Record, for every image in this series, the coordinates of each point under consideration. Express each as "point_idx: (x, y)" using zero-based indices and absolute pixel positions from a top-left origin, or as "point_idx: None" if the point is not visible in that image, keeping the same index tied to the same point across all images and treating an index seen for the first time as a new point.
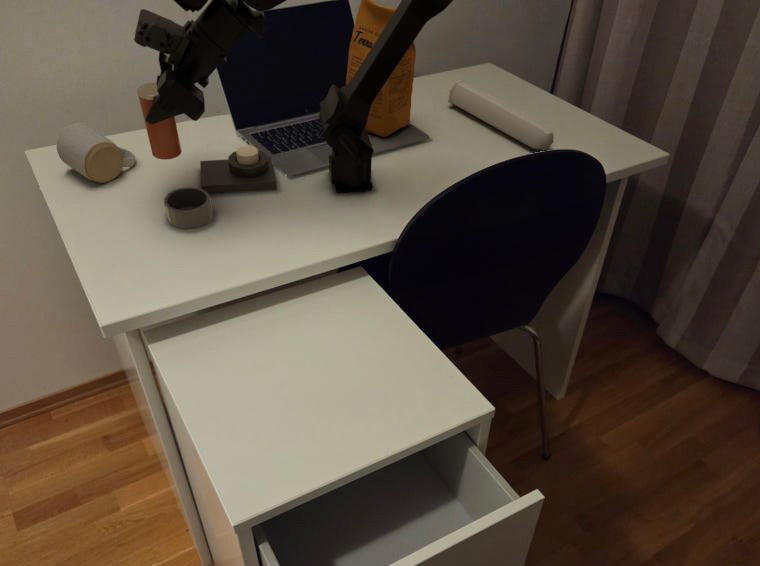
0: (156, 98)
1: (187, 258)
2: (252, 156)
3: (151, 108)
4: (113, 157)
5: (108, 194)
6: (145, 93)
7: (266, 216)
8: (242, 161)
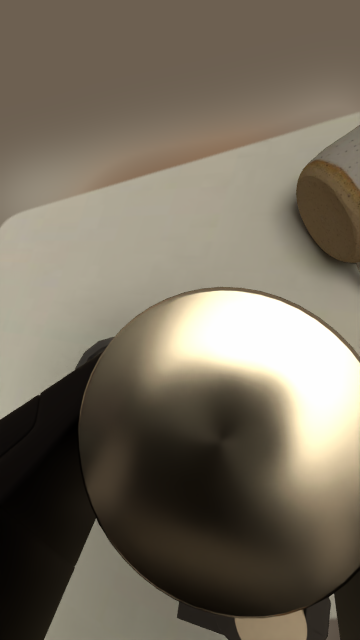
0: (18, 435)
1: (29, 354)
2: (236, 625)
3: (82, 368)
4: (341, 234)
5: (266, 234)
6: (142, 355)
7: (98, 530)
8: None
